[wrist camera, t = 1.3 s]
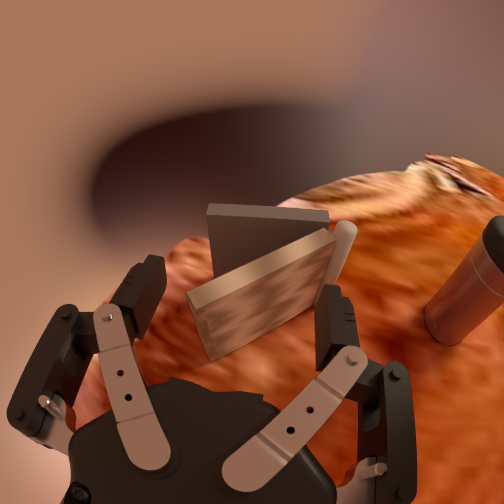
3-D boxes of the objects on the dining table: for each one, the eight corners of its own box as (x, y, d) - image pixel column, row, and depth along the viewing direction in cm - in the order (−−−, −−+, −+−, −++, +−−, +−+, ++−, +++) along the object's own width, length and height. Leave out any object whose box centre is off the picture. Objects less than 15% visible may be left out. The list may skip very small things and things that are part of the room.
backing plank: (323, 280, 43) (350, 206, 31) (327, 308, 39) (359, 236, 28) (216, 274, 43) (208, 196, 32) (212, 302, 40) (200, 226, 28)
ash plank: (302, 296, 40) (323, 227, 30) (311, 306, 39) (336, 239, 29) (204, 349, 35) (185, 292, 24) (211, 362, 33) (195, 310, 23)
